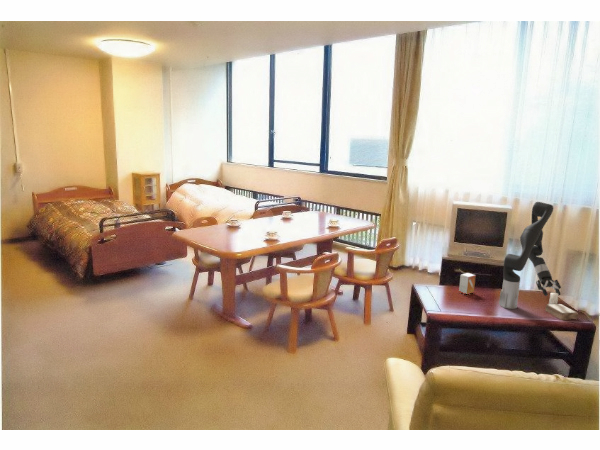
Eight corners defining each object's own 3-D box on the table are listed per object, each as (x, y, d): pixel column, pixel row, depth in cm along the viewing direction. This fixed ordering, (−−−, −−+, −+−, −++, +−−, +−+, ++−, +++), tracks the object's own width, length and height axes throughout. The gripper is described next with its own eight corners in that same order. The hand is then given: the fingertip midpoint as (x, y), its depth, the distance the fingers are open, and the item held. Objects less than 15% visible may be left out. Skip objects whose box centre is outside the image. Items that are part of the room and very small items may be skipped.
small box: (466, 295, 286) (468, 276, 284) (458, 292, 292) (460, 274, 289) (474, 293, 291) (475, 275, 288) (465, 290, 296) (467, 272, 293)
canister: (552, 306, 269) (553, 294, 268) (547, 304, 274) (548, 292, 272) (558, 306, 270) (560, 294, 268) (553, 304, 274) (555, 292, 273)
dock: (561, 319, 249) (562, 313, 248) (545, 310, 263) (546, 304, 262) (577, 319, 250) (578, 312, 249) (560, 310, 264) (561, 303, 263)
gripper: (536, 270, 277) (545, 293, 268) (556, 269, 279) (566, 292, 270) (529, 275, 283) (539, 298, 274) (549, 275, 285) (559, 297, 276)
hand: (552, 295), depth 272 cm, fingers open, 8 cm apart
